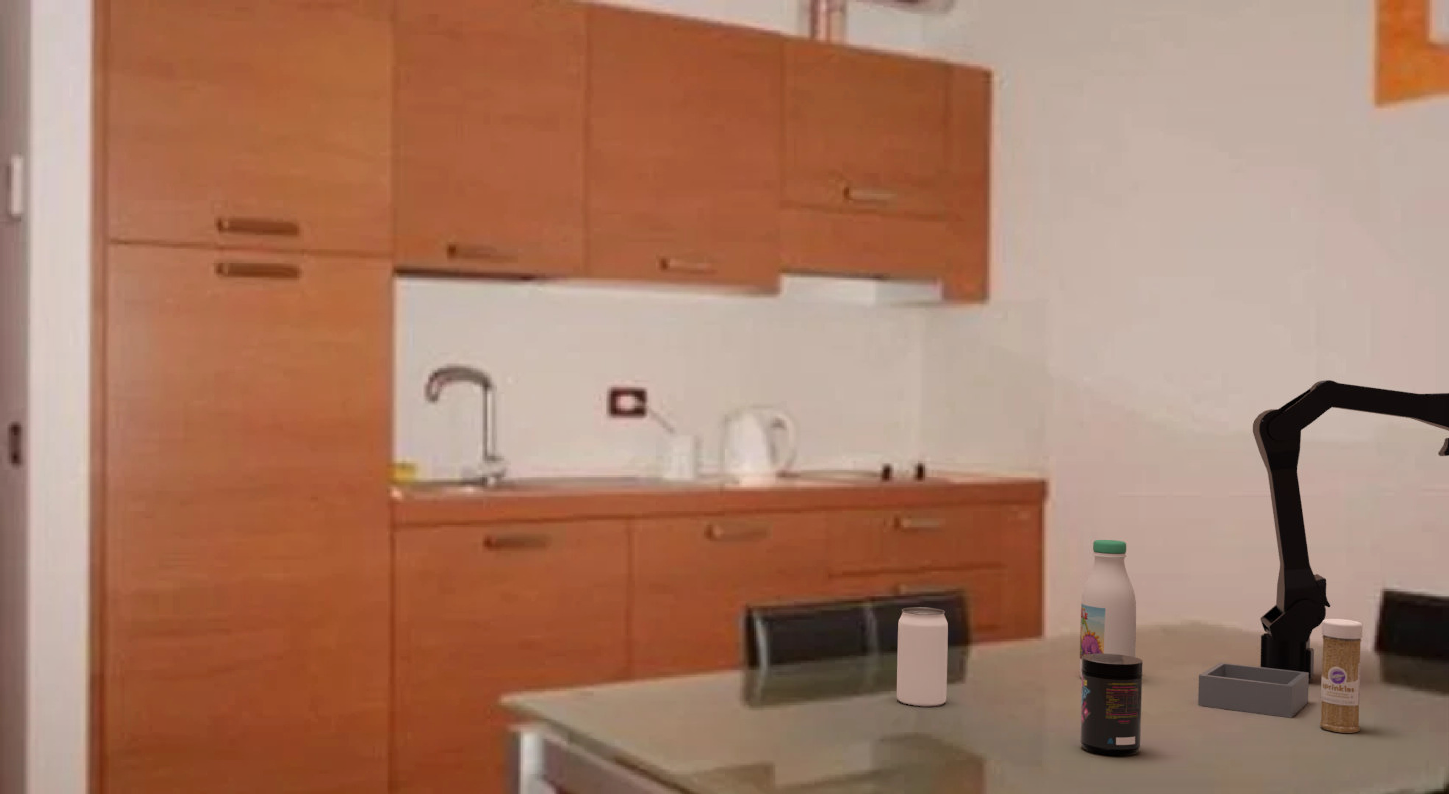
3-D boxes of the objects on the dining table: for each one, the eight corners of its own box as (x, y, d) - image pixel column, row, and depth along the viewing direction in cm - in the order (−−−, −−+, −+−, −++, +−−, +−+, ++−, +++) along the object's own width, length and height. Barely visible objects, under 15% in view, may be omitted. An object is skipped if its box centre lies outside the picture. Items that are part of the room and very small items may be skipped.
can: (945, 709, 177) (947, 615, 177) (894, 705, 178) (896, 612, 178) (947, 698, 183) (949, 608, 183) (898, 695, 184) (900, 605, 184)
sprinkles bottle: (1321, 731, 168) (1323, 621, 168) (1318, 724, 173) (1320, 616, 173) (1362, 735, 167) (1364, 624, 167) (1358, 727, 171) (1360, 619, 171)
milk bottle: (1129, 675, 202) (1131, 539, 202) (1139, 686, 194) (1142, 544, 194) (1075, 673, 203) (1078, 537, 203) (1084, 683, 195) (1086, 542, 195)
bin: (1198, 705, 182) (1198, 675, 182) (1219, 691, 192) (1219, 662, 192) (1291, 717, 176) (1292, 686, 176) (1308, 702, 186) (1308, 672, 186)
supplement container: (1114, 741, 161) (1116, 652, 161) (1153, 755, 155) (1155, 662, 155) (1067, 745, 159) (1069, 655, 159) (1105, 760, 153) (1107, 666, 153)
